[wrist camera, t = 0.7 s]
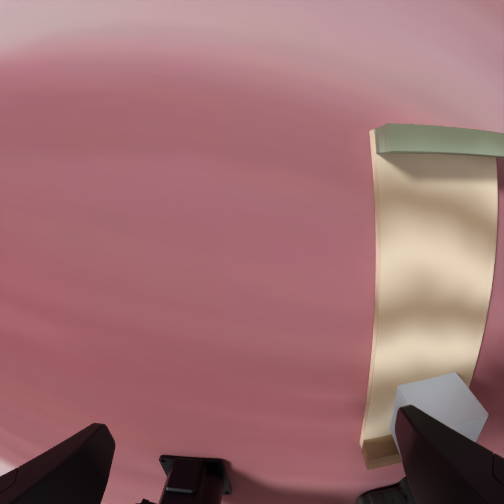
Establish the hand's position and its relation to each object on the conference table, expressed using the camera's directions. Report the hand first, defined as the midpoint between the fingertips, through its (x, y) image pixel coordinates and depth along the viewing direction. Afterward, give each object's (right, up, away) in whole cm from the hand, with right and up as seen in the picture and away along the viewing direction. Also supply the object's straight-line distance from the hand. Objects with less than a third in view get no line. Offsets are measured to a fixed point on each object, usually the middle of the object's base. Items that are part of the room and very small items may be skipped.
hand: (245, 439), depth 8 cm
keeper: (+15, -7, +14) cm, 21 cm away
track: (+14, +1, +13) cm, 19 cm away
